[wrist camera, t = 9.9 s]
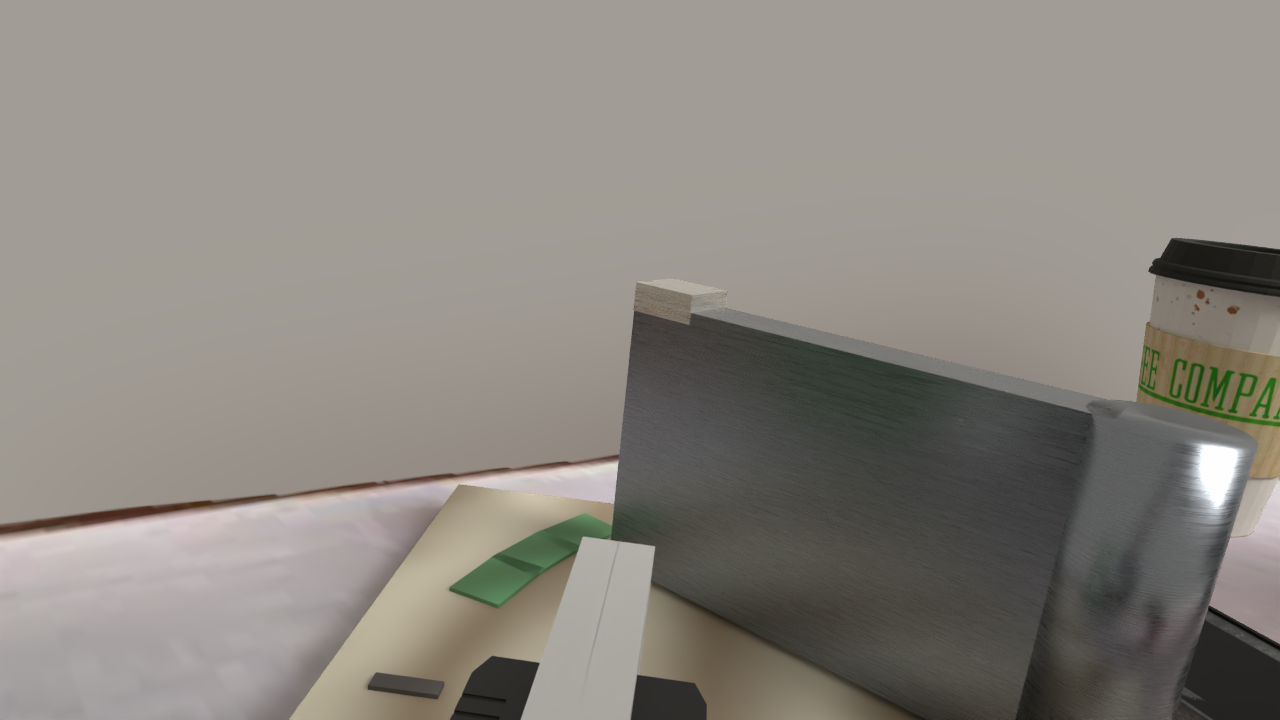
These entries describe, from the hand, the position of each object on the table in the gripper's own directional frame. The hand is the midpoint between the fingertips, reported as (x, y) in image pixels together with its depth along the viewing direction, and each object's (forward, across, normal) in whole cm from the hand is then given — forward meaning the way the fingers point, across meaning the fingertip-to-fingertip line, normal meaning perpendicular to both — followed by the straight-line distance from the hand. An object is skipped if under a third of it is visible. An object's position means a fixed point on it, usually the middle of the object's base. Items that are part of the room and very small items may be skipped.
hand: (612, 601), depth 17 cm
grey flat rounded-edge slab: (+9, +7, -6) cm, 13 cm away
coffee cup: (+31, +30, -8) cm, 44 cm away
